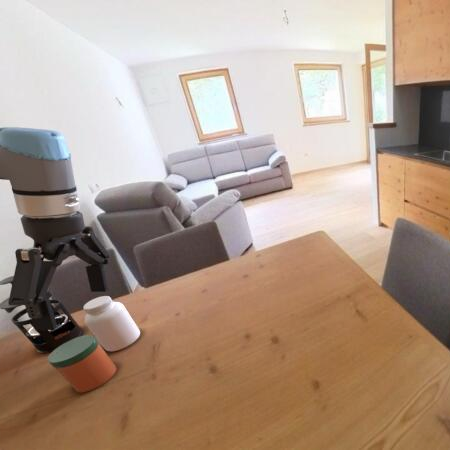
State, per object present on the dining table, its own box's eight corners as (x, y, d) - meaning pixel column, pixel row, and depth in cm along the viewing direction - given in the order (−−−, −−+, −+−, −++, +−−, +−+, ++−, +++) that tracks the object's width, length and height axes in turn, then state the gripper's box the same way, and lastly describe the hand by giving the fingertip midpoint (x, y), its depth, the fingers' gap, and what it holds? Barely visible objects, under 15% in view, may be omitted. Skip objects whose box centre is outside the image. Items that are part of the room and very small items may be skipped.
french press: (81, 342, 82) (31, 279, 72) (33, 361, 76) (-29, 296, 66) (86, 320, 90) (42, 261, 80) (43, 336, 85) (-10, 275, 74)
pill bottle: (108, 357, 76) (78, 317, 70) (102, 343, 81) (73, 304, 74) (144, 338, 82) (119, 299, 75) (137, 326, 87) (113, 288, 80)
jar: (66, 394, 67) (39, 365, 63) (93, 366, 74) (70, 338, 69) (100, 389, 68) (76, 360, 63) (124, 362, 75) (103, 334, 70)
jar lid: (41, 370, 63) (36, 364, 62) (73, 342, 70) (69, 337, 69) (79, 365, 64) (75, 359, 63) (107, 337, 71) (103, 332, 70)
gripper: (10, 237, 43) (44, 348, 49) (120, 199, 66) (134, 278, 72) (-58, 235, 41) (-14, 352, 47) (80, 197, 64) (97, 279, 70)
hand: (75, 308), depth 59 cm, fingers open, 13 cm apart
